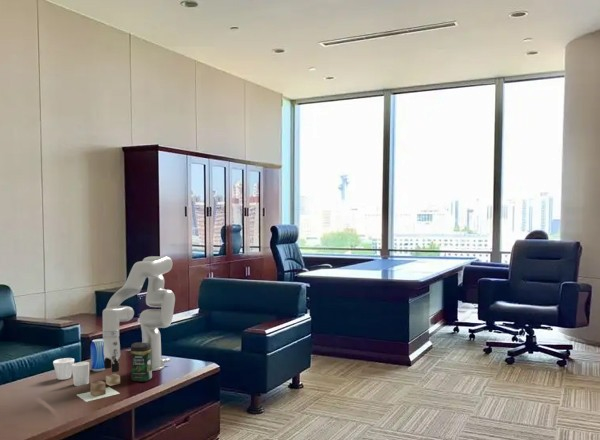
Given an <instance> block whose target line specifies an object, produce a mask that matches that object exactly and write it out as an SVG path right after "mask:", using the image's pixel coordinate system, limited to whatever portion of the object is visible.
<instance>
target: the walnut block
mask: <svg viewBox="0 0 600 440" xmlns="http://www.w3.org/2000/svg"><path fill="white" fill-rule="evenodd" d="M89 385H90V387H89V389H90V392H91V395H93V396H94V397H96V396H100V395H104V394H106V388H107V387H106V385H107V384H106V381H102V380H98V381H93V382H89Z"/></svg>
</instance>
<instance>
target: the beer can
mask: <svg viewBox="0 0 600 440" xmlns="http://www.w3.org/2000/svg"><path fill="white" fill-rule="evenodd" d="M89 347H90V366H91V367H90V368H91V371H93V372H102V371H106V370H107V369H104V338H96V339H93V340H91V344H90V345H89Z"/></svg>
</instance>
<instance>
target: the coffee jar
mask: <svg viewBox="0 0 600 440" xmlns="http://www.w3.org/2000/svg"><path fill="white" fill-rule="evenodd" d="M150 353H151V344H150V343H142V341H141V342H134V343H132V344H131V345H130V354H131V381H133V382H141V383H143V382H148V381H150V380H152V378H153V371H152V370H151V361H150Z"/></svg>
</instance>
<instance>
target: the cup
mask: <svg viewBox="0 0 600 440" xmlns="http://www.w3.org/2000/svg"><path fill="white" fill-rule="evenodd" d="M74 363H75V358H72V357H64V358H58V359H55V360H53V361H52V364H53V367H54V371H55V375H56V379H57V381H66V380H69V379H71V378H72V374H73V371H72V364H74Z"/></svg>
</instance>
